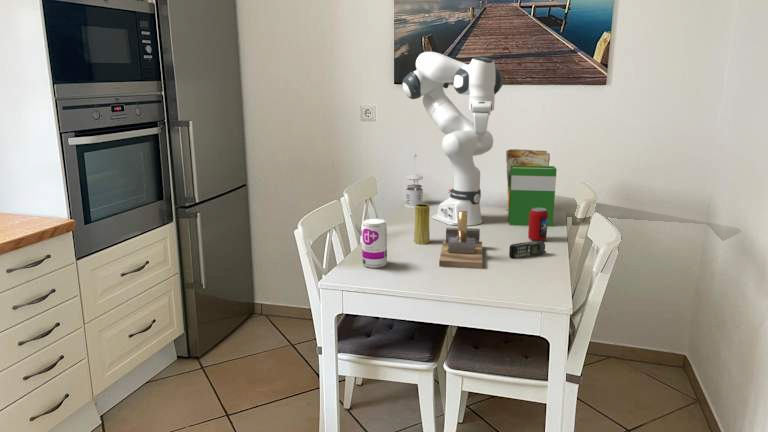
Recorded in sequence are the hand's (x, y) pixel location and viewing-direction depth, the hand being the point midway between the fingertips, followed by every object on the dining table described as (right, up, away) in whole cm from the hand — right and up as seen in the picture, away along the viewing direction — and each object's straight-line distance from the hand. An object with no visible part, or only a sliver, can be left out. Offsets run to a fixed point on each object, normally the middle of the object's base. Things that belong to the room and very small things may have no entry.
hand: (480, 144), depth 205 cm
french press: (-20, -20, +72) cm, 77 cm away
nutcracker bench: (-7, -40, -5) cm, 41 cm away
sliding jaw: (-7, -37, -5) cm, 38 cm away
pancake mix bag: (+30, -23, +60) cm, 71 cm away
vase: (-20, -35, +13) cm, 42 cm away
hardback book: (+27, -29, +38) cm, 55 cm away
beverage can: (+24, -35, +15) cm, 45 cm away
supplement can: (-37, -42, -12) cm, 57 cm away
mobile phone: (+16, -39, -4) cm, 43 cm away
